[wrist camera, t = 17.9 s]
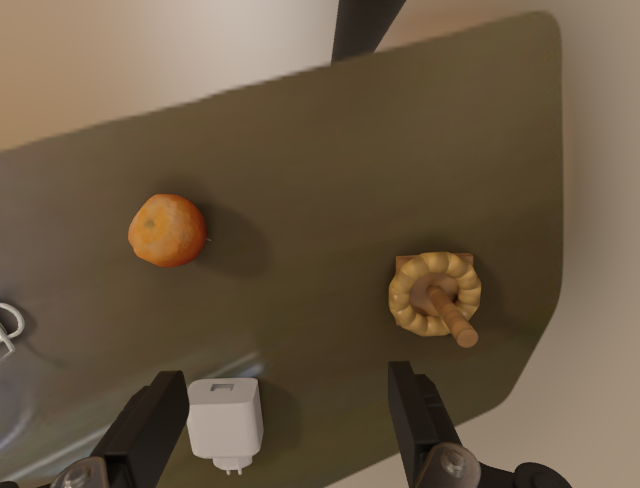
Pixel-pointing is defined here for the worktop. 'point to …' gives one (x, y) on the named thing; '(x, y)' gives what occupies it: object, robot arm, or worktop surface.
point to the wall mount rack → (2, 336)
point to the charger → (225, 421)
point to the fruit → (168, 231)
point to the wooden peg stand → (441, 300)
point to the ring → (422, 267)
